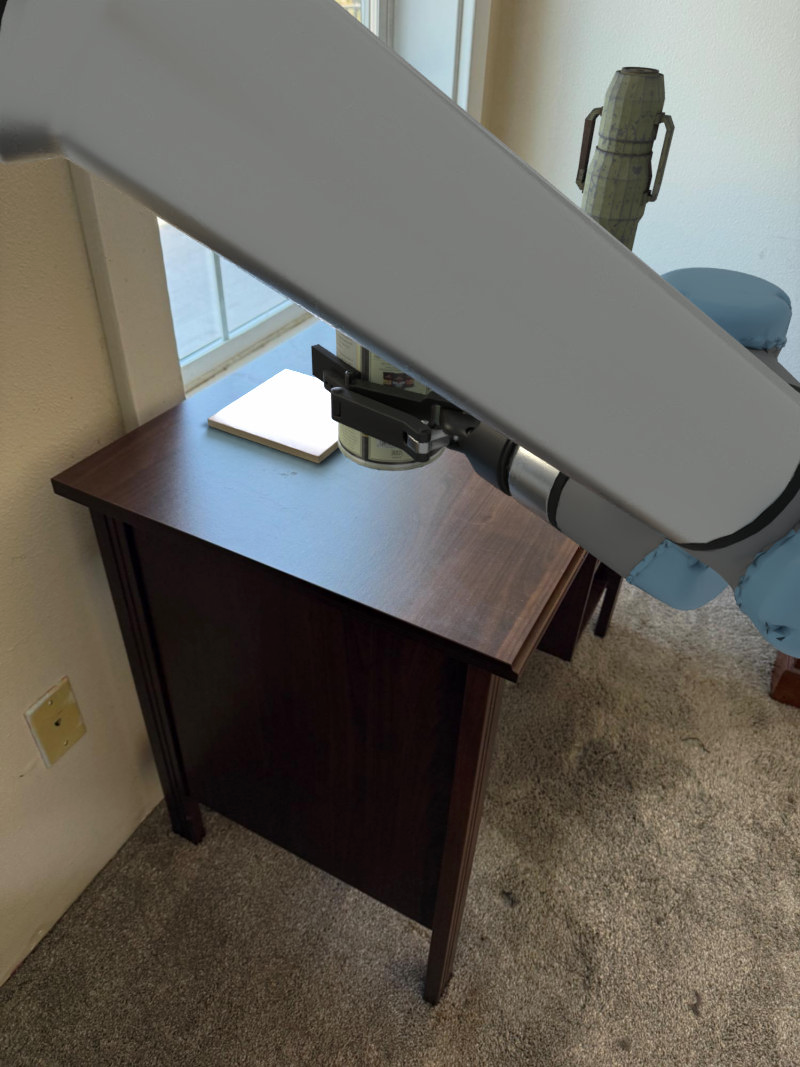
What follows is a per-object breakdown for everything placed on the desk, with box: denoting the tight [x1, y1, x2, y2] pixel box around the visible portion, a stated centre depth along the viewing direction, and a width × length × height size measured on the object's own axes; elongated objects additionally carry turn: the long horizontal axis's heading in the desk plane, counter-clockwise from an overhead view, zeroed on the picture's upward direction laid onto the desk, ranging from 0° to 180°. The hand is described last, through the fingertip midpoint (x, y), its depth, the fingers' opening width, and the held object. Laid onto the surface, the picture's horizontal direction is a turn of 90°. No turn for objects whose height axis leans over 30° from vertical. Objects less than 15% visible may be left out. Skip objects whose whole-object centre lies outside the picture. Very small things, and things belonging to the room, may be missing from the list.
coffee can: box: [335, 329, 446, 472], centre depth 66 cm, size 10×10×14 cm
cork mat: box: [206, 368, 339, 465], centre depth 92 cm, size 16×16×1 cm
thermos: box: [575, 66, 676, 252], centre depth 106 cm, size 9×12×35 cm
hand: (365, 345), depth 68 cm, fingers closed on coffee can, 10 cm apart
